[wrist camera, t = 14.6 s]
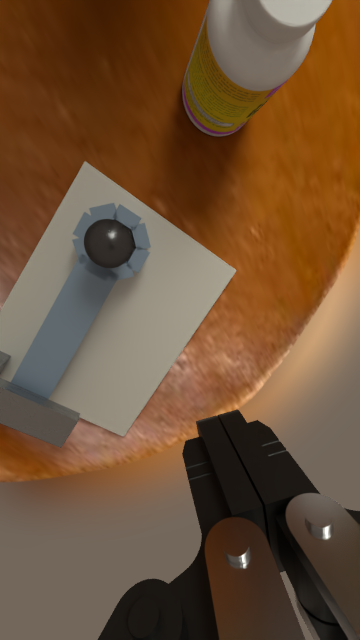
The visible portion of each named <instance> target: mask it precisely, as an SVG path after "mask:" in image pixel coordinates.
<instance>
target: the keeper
mask: <svg viewBox="0 0 360 640" xmlns="http://www.w3.org/2000/svg"><path fill="white" fill-rule="evenodd" d="M10 357H11V356H10V355H8V354H6V353H4V352H2V351H0V374H1V372H2V371H3V369H4V367H5V366H6V364H7V362H8V361H9V359H10ZM79 416H80V413H78V412H76V411H74V410H71V409H69V408H67V407H65V406H62V405H60V404H58V403H56V402H54V401H51V400H49V399H47V398H45V397H42V396H40V395H38V394H36V393H33V392H31V391H29V390H27V389H24V388H22V387H20V386H18V385H15V384H13V383H11V382H9V381H7V380H4V379H2V378H0V423H1V424H3V425H6V426H8V427H11V428H13V429H16V430H18V431H21V432H23V433H26V434H28V435H31V436H33V437H36V438H38V439H41V440H43V441H46V442H48V443H50V444H53V445H55V446H58V447H60V448H61V447H62V445H63V444H64V442H65V441H66V439H67V438H68V436H69V435H70V433H71V431H72V430H73V428H74V427H75V425H76V424H77V422H78V420H79Z"/></svg>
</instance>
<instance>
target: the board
mask: <svg viewBox="0 0 360 640" xmlns="http://www.w3.org/2000/svg"><path fill="white" fill-rule="evenodd" d="M110 203H114V204H115V207H116V210H117V208H118V206H119V204H121V205H122V206H124V207H125V208H127V209H128V210H130V211H131V212H133V213H134V214H136V215H137V216H139V217H140V218H141V220H140V222H139V224H142V223H145V225H146V230H147V234H148V238H149V242H150V246H151V247H150V248H146V249H145V250H147V251H148V252H150V254H149V256H148V257H147V259H146V261H145V262H144V264H143V266H142V268H141V269H140V271H139V273H137V272H136V271H134V270H133V272H134V276H133V277H129V278H125V279H121V280H117V281H116V282H115V284H114V286H113V288H112V289H111V291H110V293H109V295H108V296H107V298H106V300H105V302H104V303H103V305H102V307H101V309H100V310H99V312H98V314H97V315H96V317H95V319H94V321H93V322H92V324H91V326H90V328H89V329H88V331H87V333H86V335H85V336H84V338H83V340H82V342H81V343H80V345H79V347H78V348H77V350H76V352H75V354H74V355H73V357H72V359H71V361H70V362H69V364H68V366H67V368H66V369H65V371H64V373H63V375H62V376H61V378H60V380H59V382H58V383H57V385H56V387H55V388H54V390H53V392H52V394H51V395H50V397H49V400H51V401H54V402H56V403H58V404H60V405H62V406H65V407H67V408H69V409H71V410H74V411H76V412H78V413H80V416H79V417H80V418H82V419H84V420H86V421H89V422H91V423H93V424H96V425H98V426H100V427H102V428H105V429H107V430H109V431H111V432H114V433H116V434H118V435H120V436H123V437H124V436H125V434H126V433H127V431H128V430H129V428H130V427H131V425H132V424H133V422H134V421H135V420H136V418H137V417H138V415H139V414H140V412H141V411H142V409H143V408H144V406H145V405H146V403H147V402H148V400H149V399H150V397H151V396H152V394H153V393H154V392H155V390H156V389H157V387H158V386H159V384H160V383H161V381H162V380H163V378H164V377H165V375H166V374H167V372H168V371H169V369H170V368H171V366H172V365H173V364H174V362H175V361H176V359H177V358H178V356H179V355H180V353H181V352H182V350H183V349H184V347H185V346H186V344H187V343H188V341H189V340H190V338H191V337H192V336H193V334H194V333H195V331H196V330H197V328H198V327H199V325H200V324H201V322H202V321H203V319H204V318H205V316H206V315H207V313H208V312H209V310H210V309H211V308H212V306H213V305H214V303H215V302H216V300H217V299H218V297H219V296H220V294H221V293H222V291H223V290H224V288H225V287H226V285H227V284H228V282H229V281H230V279H231V278H232V277H233V275H234V274H235V272H236V271H237V270H235V269H234V268H233V267H231V266H230V265H228V264H227V263H226V262H224V261H223V260H221V259H220V258H219V257H217V256H216V255H215V254H213V253H212V252H210V251H209V250H208V249H206V248H205V247H203V246H202V245H201V244H199V243H198V242H197V241H195V240H194V239H192V238H191V237H190V236H188V235H187V234H185V233H184V232H183V231H181V230H180V229H179V228H177V227H176V226H174V225H173V224H172V223H170V222H169V221H167V220H166V219H165V218H163V217H162V216H160V215H159V214H158V213H156V212H155V211H154V210H152V209H151V208H149V207H148V206H147V205H145V204H144V203H142V202H141V201H140V200H138V199H137V198H136V197H134V196H133V195H131V194H130V193H129V192H127V191H126V190H124V189H123V188H122V187H120V186H119V185H118V184H116V183H115V182H113V181H112V180H111V179H109V178H108V177H106V176H105V175H104V174H102V173H101V172H99V171H98V170H97V169H95V168H94V167H93V166H91V165H90V164H88V163H87V162H86V161H85V162H84V164H83V165H82V167H81V169H80V171H79V172H78V174H77V176H76V178H75V180H74V181H73V183H72V185H71V187H70V188H69V190H68V192H67V194H66V195H65V197H64V199H63V201H62V203H61V204H60V206H59V208H58V210H57V211H56V213H55V215H54V217H53V218H52V220H51V222H50V224H49V225H48V227H47V229H46V231H45V233H44V234H43V236H42V238H41V240H40V241H39V243H38V245H37V247H36V248H35V250H34V252H33V254H32V256H31V257H30V259H29V261H28V263H27V264H26V266H25V268H24V270H23V271H22V273H21V275H20V277H19V278H18V280H17V282H16V284H15V286H14V287H13V289H12V291H11V293H10V294H9V296H8V298H7V300H6V301H5V303H4V305H3V307H2V308H1V310H0V351H2V352H4V353H6V354H8V355H10V356H11V357H10V359H9V361H8V362H7V364H6V366H5V367H4V369H3V371H2V372H1V374H0V378H2V379H4V380H7V381H9V382H11V380H12V379H13V377H14V375H15V373H16V371H17V369H18V368H19V366H20V364H21V362H22V360H23V359H24V357H25V355H26V353H27V351H28V349H29V348H30V346H31V344H32V342H33V340H34V338H35V337H36V335H37V333H38V331H39V329H40V327H41V326H42V324H43V322H44V320H45V318H46V317H47V315H48V313H49V311H50V309H51V307H52V306H53V304H54V302H55V300H56V298H57V296H58V295H59V293H60V291H61V289H62V287H63V285H64V284H65V282H66V280H67V278H68V276H69V274H70V273H71V271H72V269H73V267H74V265H75V264H76V262H77V260H78V256H77V253H76V250H75V247H74V244H73V241H72V240H73V239H77V238H78V237H77V236H75V235H73V232H74V230H75V228H76V226H77V225H78V223H79V221H80V219H81V217H82V215H83V213H84V212H86V213H88V214H89V215H91V213H90V210H89V208H92V207H97V206H101V205H106V204H110ZM127 229H128V228H127ZM128 231H129V232H130V234H131V237H132V241H133V249H132V252H133V250H134V249H135V243H134V240H133V236H132V232H131V230H129V229H128ZM131 254H132V253H131ZM130 256H131V255H130ZM127 261H128V260H127Z"/></svg>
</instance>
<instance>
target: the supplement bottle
mask: <svg viewBox="0 0 360 640" xmlns="http://www.w3.org/2000/svg"><path fill="white" fill-rule="evenodd" d="M331 2H332V0H210V1H209V4H208V7H207V10H206V13H205V16H204V19H203V22H202V25H201V28H200V31H199V34H198V37H197V40H196V43H195V46H194V48H193V51H192V54H191V57H190V60H189V63H188V66H187V69H186V72H185V75H184V79H183V85H182V96H183V103H184V107H185V110H186V112H187V114H188V116H189V118H190V120H191V121H192V122H193V124H194V125H195V126H196V127H197V128H198V129H199V130H201V131H202V132H204V133H206V134H209V135H212V136H227V135H230V134H232V133H234V132H236V131H237V130H239V129H240V128H241V127H242V126H243V125H244V124H245V123H246V122H247V121H248V120H249V119H250V118H251V117H252V116H253V115H254V114H255V113H256V112H257V111H258V110H259V109H260V108H261V107H262V106H263V105H264V104H265V103H266V102H267V101H268V99H269V98H270V97H271V96H272V95H273V94H274V93H275V92H276V91H277V90H278V89H279V88H280V87H281V86H282V85H283V84H284V83H285V82H286V81H287V80H288V79H289V78H290V77H291V76H292V75H293V74H294V72H295V71H296V70H297V69H298V68H299V66H300V65H301V63H302V62H303V60H304V59H305V57H306V55H307V53H308V50H309V48H310V45H311V43H312V39H313V36H314V31H315V25H316V23H317V22H318V20H319V19H320V18H321V17H322V15H323V14H324V13H325V12H326V10H327V9H328V7H329V5H330V4H331Z"/></svg>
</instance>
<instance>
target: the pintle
mask: <svg viewBox="0 0 360 640" xmlns="http://www.w3.org/2000/svg"><path fill="white" fill-rule="evenodd" d="M84 248H85V251H86V253H87V255H88V257H89V258H90V259H91V260H92V261H93V262H94V263H95V264H97V265H99V266H101V267H104V268H116V267H119V266H121V265H123V264H124V263H125V262H126V261H127V260H128V259H129V257H130V255H131V253H132V249H133V241H132V237H131V234H130V232H129V231H128V229H127V228H126V227H125V226H124V225H123V224H121V223H120V222H118V221H116V220H112V219H101V220H98V221H96V222H94V223H93V224H92V225H90V227H89V228H88V229H87V231H86V233H85V236H84Z"/></svg>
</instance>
